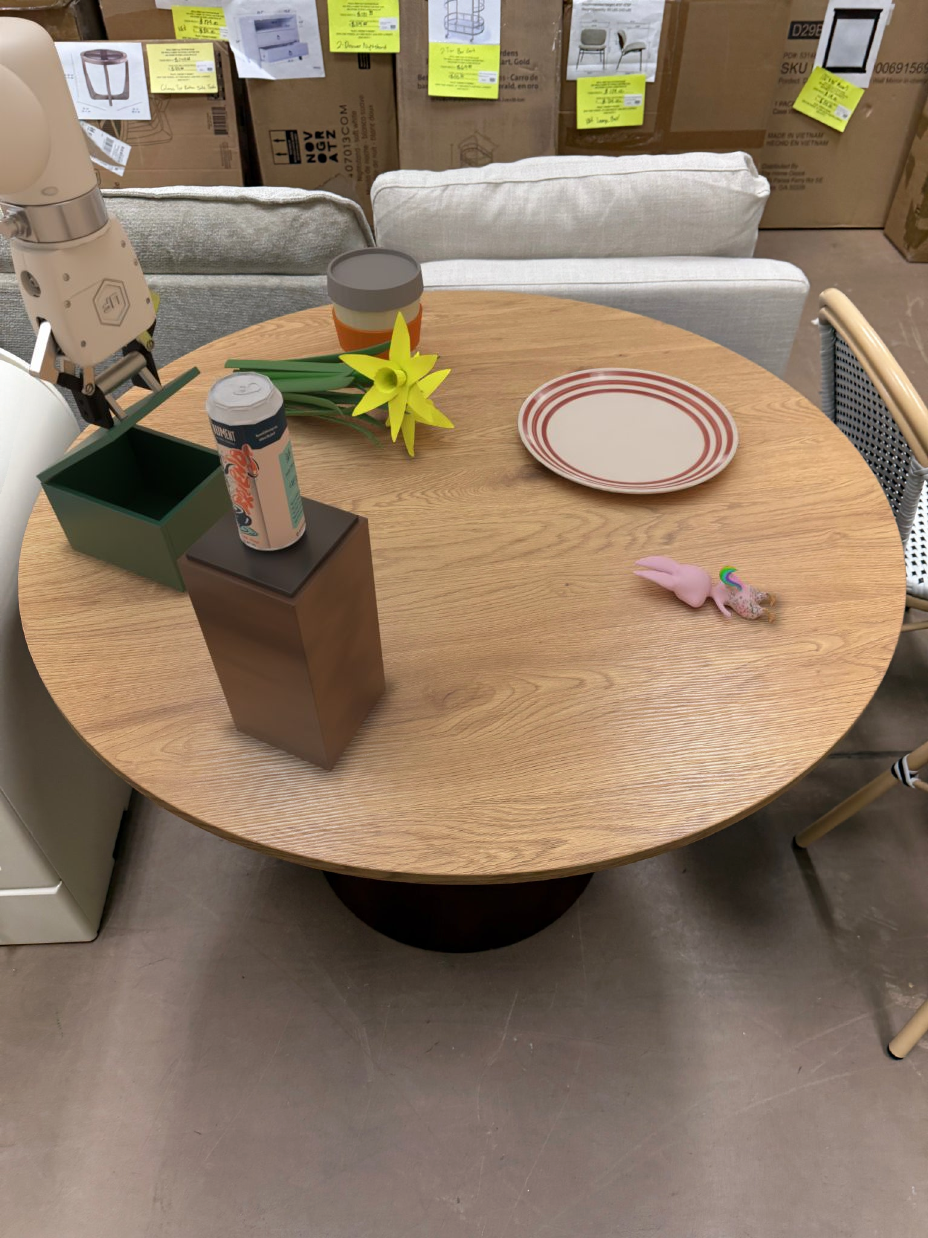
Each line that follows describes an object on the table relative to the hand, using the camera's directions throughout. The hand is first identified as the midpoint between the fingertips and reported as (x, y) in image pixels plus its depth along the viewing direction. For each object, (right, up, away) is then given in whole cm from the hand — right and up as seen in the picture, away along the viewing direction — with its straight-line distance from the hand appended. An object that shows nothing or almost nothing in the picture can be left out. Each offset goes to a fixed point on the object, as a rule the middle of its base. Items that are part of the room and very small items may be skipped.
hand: (124, 403), depth 78 cm
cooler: (-1, -12, +14) cm, 18 cm away
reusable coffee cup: (+21, +14, +37) cm, 45 cm away
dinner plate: (+53, +2, +26) cm, 59 cm away
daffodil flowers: (+16, +3, +27) cm, 31 cm away
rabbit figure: (+58, -19, +8) cm, 61 cm away
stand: (+19, -29, -2) cm, 35 cm away
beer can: (+19, -14, -19) cm, 30 cm away
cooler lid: (-2, -2, +3) cm, 4 cm away
